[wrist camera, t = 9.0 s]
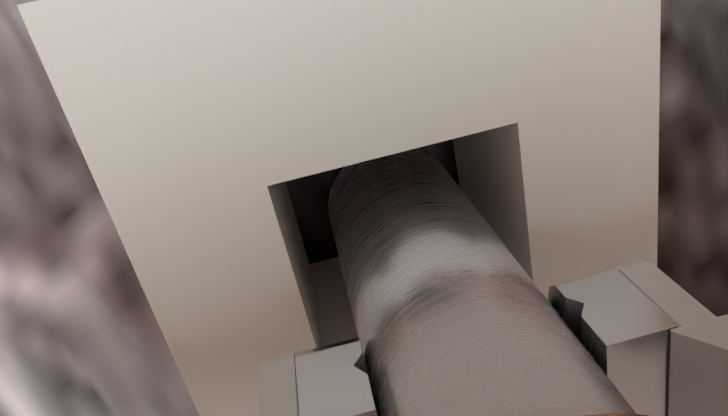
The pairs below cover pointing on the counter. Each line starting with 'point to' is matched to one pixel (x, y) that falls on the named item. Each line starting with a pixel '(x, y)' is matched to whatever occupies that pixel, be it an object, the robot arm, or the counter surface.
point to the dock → (346, 145)
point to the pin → (451, 303)
